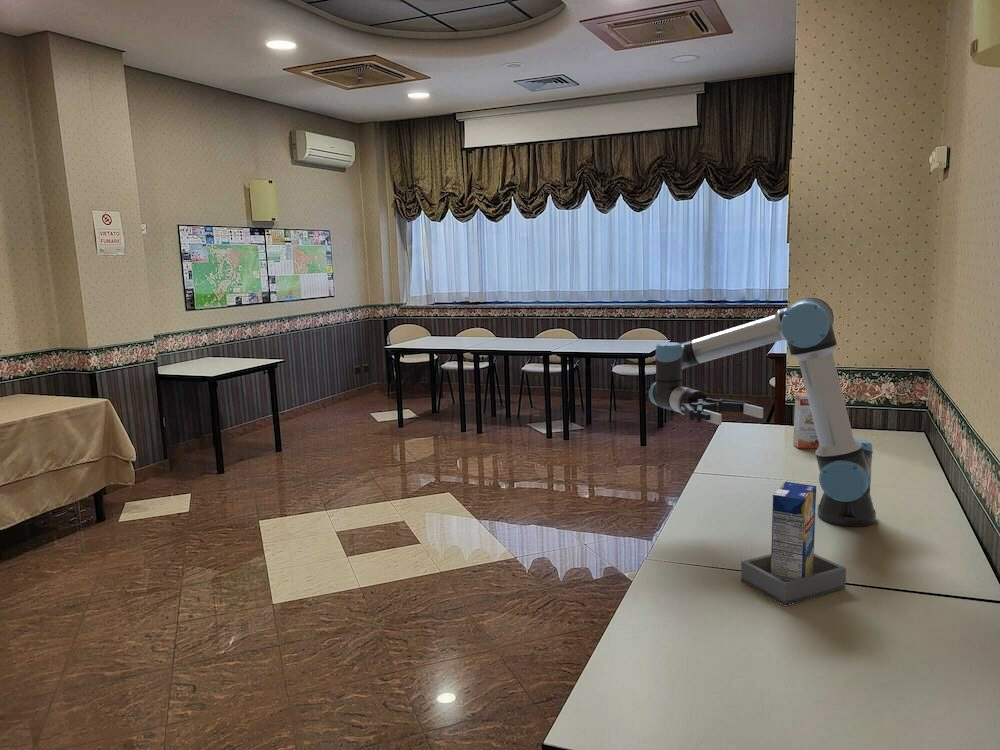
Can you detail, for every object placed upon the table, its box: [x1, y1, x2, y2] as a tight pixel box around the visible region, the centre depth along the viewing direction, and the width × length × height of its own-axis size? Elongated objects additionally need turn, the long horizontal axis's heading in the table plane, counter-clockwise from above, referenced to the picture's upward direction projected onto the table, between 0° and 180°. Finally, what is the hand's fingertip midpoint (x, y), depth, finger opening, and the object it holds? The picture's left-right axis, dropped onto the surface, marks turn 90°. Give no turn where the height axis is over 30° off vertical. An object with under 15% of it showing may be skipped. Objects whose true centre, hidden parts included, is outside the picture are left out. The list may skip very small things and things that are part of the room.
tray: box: [740, 553, 847, 606], centre depth 173 cm, size 18×14×5 cm
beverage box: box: [770, 481, 817, 582], centre depth 171 cm, size 7×11×22 cm, turn 145°
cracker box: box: [792, 392, 819, 449], centre depth 284 cm, size 14×6×21 cm, turn 88°
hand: (741, 416), depth 191 cm, fingers open, 13 cm apart
